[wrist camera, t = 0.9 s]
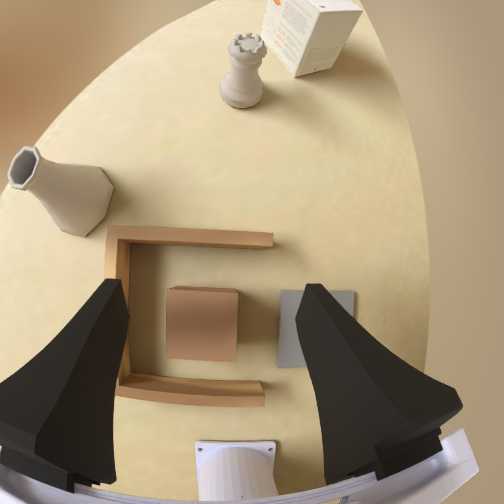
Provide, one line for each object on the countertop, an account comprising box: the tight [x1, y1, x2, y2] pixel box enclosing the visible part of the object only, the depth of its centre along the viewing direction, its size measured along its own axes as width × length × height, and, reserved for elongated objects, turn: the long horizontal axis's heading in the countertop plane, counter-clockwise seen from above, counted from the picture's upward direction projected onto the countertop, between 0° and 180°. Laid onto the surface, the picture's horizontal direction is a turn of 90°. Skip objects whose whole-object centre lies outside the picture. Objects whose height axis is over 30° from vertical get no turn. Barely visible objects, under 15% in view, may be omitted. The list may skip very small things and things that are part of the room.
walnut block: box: [166, 286, 238, 362], centre depth 21 cm, size 5×5×5 cm
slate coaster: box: [276, 290, 355, 368], centre depth 24 cm, size 7×7×1 cm
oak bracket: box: [104, 226, 273, 407], centre depth 22 cm, size 14×13×4 cm
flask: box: [7, 146, 114, 237], centre depth 18 cm, size 7×7×10 cm
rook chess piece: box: [219, 33, 267, 108], centre depth 22 cm, size 4×4×8 cm
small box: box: [260, 0, 363, 77], centre depth 22 cm, size 8×6×10 cm
